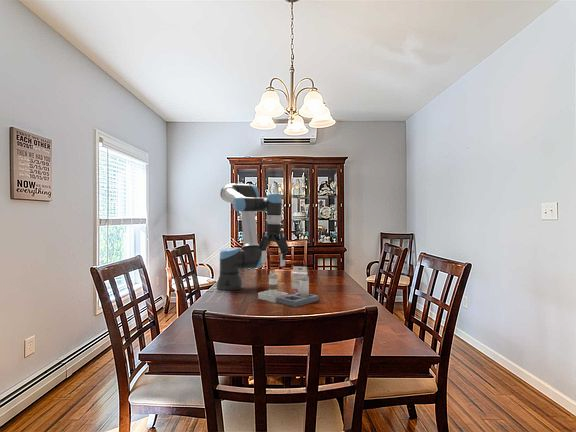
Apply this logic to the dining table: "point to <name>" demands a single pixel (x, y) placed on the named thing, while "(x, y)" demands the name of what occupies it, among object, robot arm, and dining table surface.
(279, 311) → the dining table surface
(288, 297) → the fuse panel
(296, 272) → the grey stepped block
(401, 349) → the dining table surface
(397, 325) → the dining table surface
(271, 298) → the parts tray
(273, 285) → the fuse
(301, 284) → the fuse
